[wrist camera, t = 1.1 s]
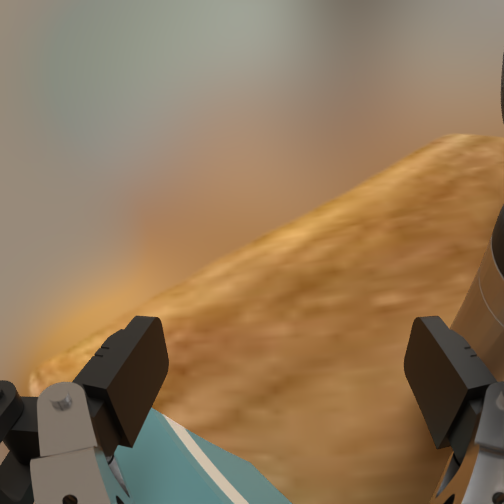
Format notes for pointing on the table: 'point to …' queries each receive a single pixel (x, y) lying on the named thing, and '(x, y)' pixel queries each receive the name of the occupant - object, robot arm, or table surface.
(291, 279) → the table surface
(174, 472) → the book
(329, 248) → the table surface
